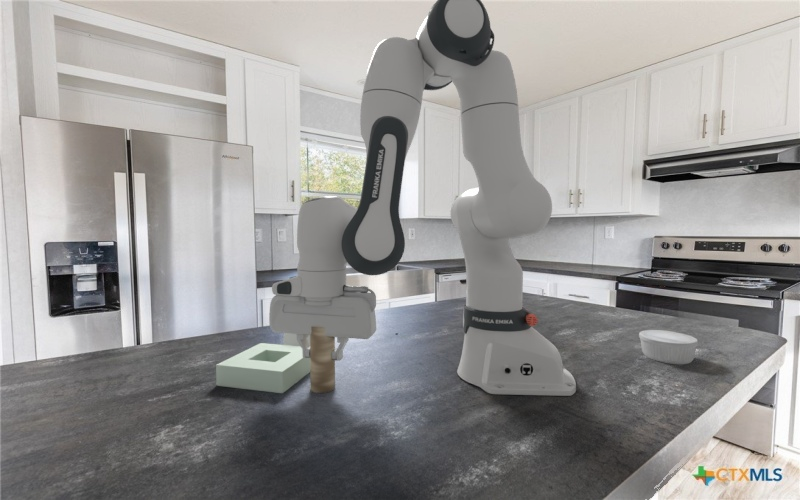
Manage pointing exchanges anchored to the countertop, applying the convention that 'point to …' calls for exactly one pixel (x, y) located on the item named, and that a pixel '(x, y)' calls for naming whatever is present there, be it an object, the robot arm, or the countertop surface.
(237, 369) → the socket block
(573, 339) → the countertop surface
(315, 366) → the maple peg
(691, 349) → the ramekin
